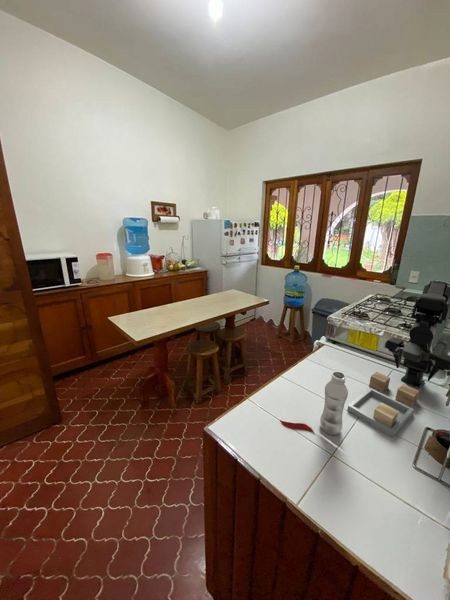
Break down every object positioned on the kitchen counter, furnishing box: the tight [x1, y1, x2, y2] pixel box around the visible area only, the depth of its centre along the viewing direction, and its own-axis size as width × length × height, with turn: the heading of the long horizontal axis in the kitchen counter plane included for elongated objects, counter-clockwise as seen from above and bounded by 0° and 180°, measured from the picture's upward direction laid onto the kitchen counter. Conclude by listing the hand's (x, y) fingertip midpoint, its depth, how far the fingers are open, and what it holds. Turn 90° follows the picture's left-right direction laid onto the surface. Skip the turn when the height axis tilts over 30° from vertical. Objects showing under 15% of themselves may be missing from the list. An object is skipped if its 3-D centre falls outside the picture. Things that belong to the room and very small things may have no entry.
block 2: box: [373, 403, 399, 428], centre depth 79 cm, size 5×5×5 cm
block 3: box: [394, 383, 420, 408], centre depth 89 cm, size 5×5×5 cm
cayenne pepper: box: [279, 420, 316, 435], centre depth 79 cm, size 12×5×2 cm, turn 51°
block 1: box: [368, 371, 391, 393], centre depth 97 cm, size 5×5×5 cm
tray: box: [347, 387, 415, 438], centre depth 84 cm, size 16×14×2 cm
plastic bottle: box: [319, 371, 349, 436], centre depth 75 cm, size 6×7×20 cm
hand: (412, 373), depth 87 cm, fingers open, 9 cm apart
